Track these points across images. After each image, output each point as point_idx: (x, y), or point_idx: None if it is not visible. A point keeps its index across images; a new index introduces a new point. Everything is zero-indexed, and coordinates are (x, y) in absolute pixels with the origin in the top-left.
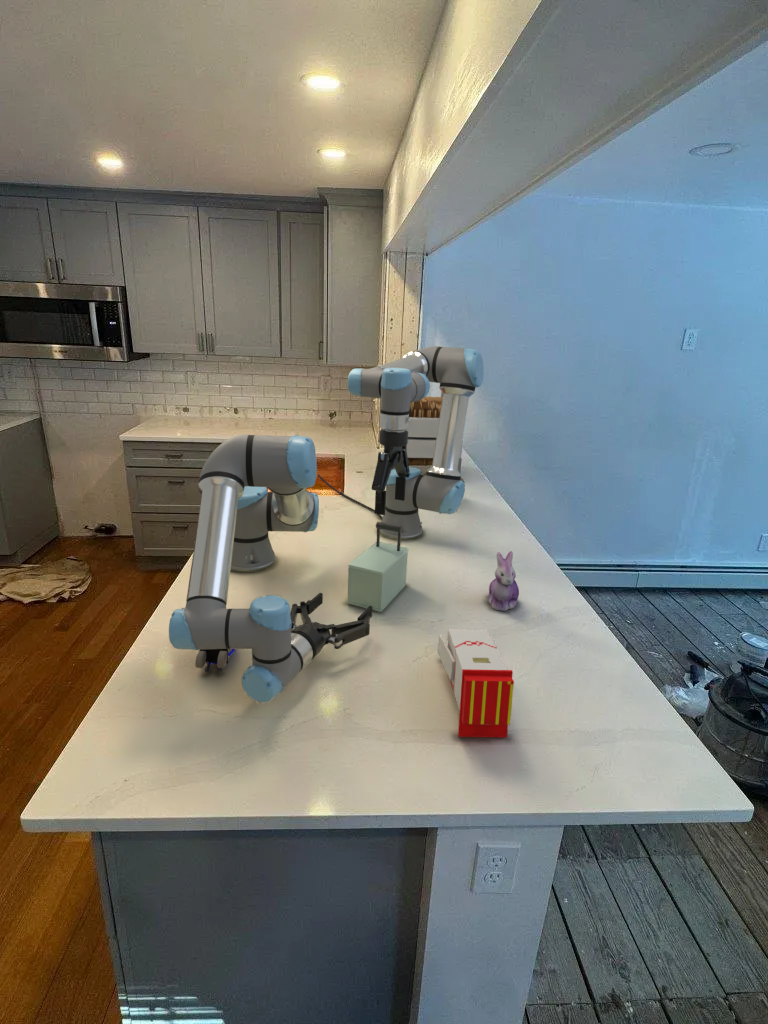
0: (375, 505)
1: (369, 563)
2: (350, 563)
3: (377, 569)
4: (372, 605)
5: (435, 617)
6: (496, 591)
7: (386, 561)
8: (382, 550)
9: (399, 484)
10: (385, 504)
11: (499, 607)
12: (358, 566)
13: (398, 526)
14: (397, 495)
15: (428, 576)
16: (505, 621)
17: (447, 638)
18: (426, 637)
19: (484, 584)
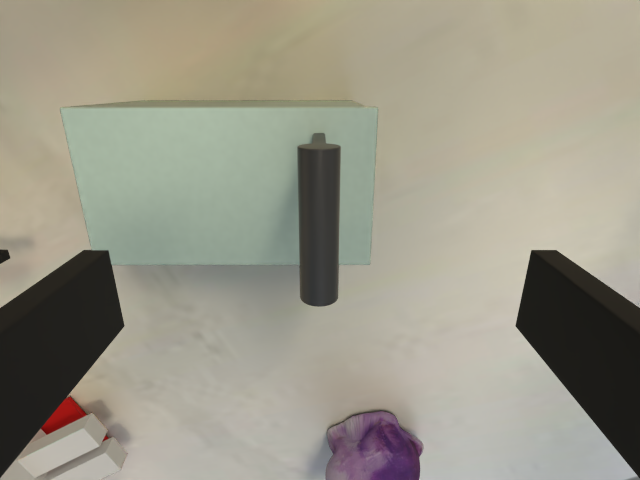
0: (37, 289)
1: (130, 186)
2: (74, 110)
3: (103, 237)
4: None
5: (221, 336)
6: (328, 472)
7: (191, 239)
8: (285, 179)
9: (631, 387)
10: (71, 385)
11: (330, 443)
12: (74, 157)
13: (313, 291)
14: (547, 293)
15: (438, 251)
16: (289, 454)
17: (90, 415)
18: (127, 345)
19: (449, 386)
